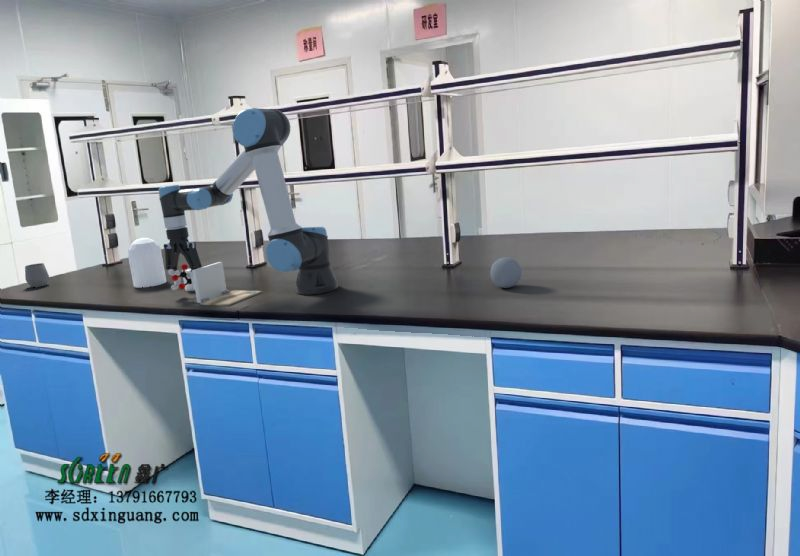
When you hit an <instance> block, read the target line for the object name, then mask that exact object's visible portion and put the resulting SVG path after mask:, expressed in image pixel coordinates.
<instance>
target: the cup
mask: <svg viewBox="0 0 800 556" xmlns="http://www.w3.org/2000/svg"><path fill="white" fill-rule="evenodd" d="M24 271H25V274H24V276H25V277H24V278H25V282H26V283H27V284H28V285H29V287H30V288H33V287H35V288H42V287H45V286H47V284H48V282H49V280H50V275H49V272H48V270H47V268H46V266H45V263H43V262H42V263H33V264H29V265H27V264H26V265H25V267H24ZM41 286H42V287H41Z"/></svg>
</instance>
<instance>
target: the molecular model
mask: <svg viewBox="0 0 800 556" xmlns="http://www.w3.org/2000/svg"><path fill="white" fill-rule="evenodd" d="M181 269H182V270H183V272H182V271H181V272H180V275H179V276H177V275H174V273H175V271H174V270H173V269H170V270H167V271H168V272H167V273H168V275H170V276H171V280H172V281H173V282H174V281H177V280H178V278H179V277H180V278H182V279H183V278H185V279H186V280H187V283H185V284H184V282H183V283H182V282H181V284H179V286H177V285H175V284H172V285H171V286H170V289H171V290H172V291H177V290H178V289H179V290H185V286H186V285H187V284H192V280H191V278H190V277H191V275H190V272H187V273H186V272H185V270H186V269H189V265H188V264H186V263H184V264H182V265H181ZM187 277H188V278H189V279H188V278H187ZM192 287H193V286H192Z"/></svg>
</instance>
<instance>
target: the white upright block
mask: <svg viewBox="0 0 800 556" xmlns="http://www.w3.org/2000/svg"><path fill="white" fill-rule="evenodd" d="M190 271H191V268H190V267H189V268H187V269H186V270H185V272H186V273H187V272H190ZM181 272H183V269H182V270H181ZM187 278H188V277H187ZM190 278H191V277H190ZM182 279H183V284H185V283H187V280H186V279H185V278H183V277H182ZM188 279H189V278H188ZM184 290H185V292H195V289H193V287H192V284H187V285H186V286H185V288H184Z"/></svg>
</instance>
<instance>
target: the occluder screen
mask: <svg viewBox="0 0 800 556" xmlns="http://www.w3.org/2000/svg"><path fill="white" fill-rule="evenodd" d="M192 274H193V280H194V286H195V291H194V292H195V298H194V299H193V302H194V303H197V304H200V303H202V302H204V301H207V300H210V299H212V298H215V297H218V296H220V295H223V294H226V293H228V292H231V291H230V290H228V289H227V285H226V284H227V283H226V278H225V270H224V265H223V261H217V262H214V263H211V264H208V265H205V266H202V267H201V268H198V269H194V270H192Z"/></svg>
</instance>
